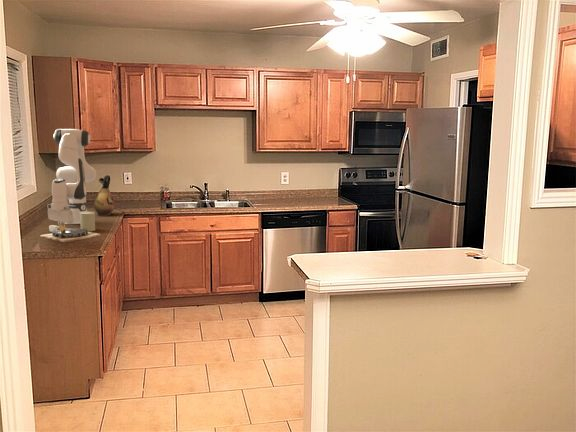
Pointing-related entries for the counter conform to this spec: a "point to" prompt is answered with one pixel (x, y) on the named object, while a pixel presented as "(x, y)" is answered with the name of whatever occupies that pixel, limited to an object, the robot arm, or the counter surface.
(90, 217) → the can
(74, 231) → the sprocket
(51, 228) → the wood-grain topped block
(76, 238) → the plate
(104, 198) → the ceramic jug
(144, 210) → the counter surface
